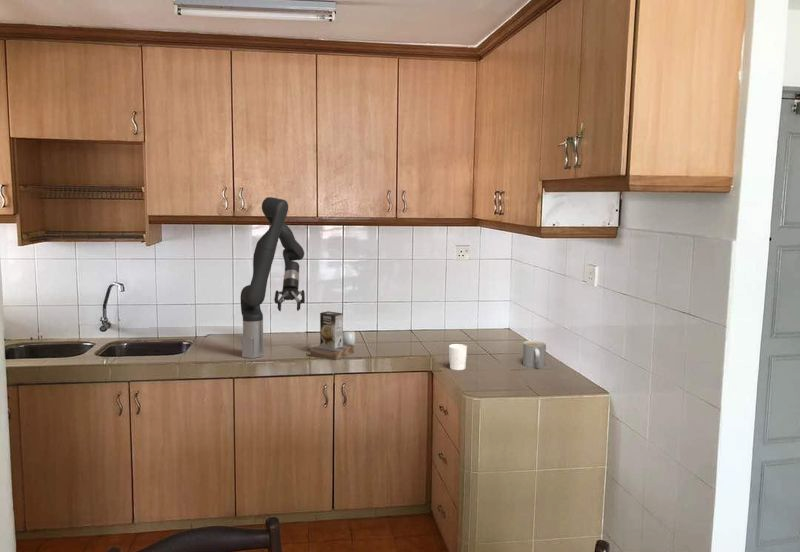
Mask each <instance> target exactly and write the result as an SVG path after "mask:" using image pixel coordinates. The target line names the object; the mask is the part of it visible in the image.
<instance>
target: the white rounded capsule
mask: <svg viewBox="0 0 800 552" xmlns="http://www.w3.org/2000/svg"><path fill="white" fill-rule="evenodd" d="M342 343H344V344H351V345H354V350H355V349H356V331H353V330H343V340H342Z"/></svg>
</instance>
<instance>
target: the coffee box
mask: <svg viewBox="0 0 800 552" xmlns="http://www.w3.org/2000/svg"><path fill="white" fill-rule="evenodd" d="M343 313H344V312H336V311H335V312H334V311H329V310H328V311H323V312H319V318H320V319H319V320H320V322H319V324H320V325H319V326H320V327H319V335H320V336H319V339H320V341H319V343H320V344H319V345H320V346H323V347H329V348H338V347H341V346H343V345H342V343H343V332H344V330H343V329H344V328H343V322H344V319H343V318H344V315H343Z"/></svg>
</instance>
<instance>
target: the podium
mask: <svg viewBox="0 0 800 552" xmlns="http://www.w3.org/2000/svg"><path fill="white" fill-rule="evenodd" d="M342 345H343V346H341V347H338V348H329V347H323V346H320V344H319V345H316V346H314V347H312V348H310V357H313V358H318V357H319V359H324V358H326V360H332V361H337V360H339V358H340V359H342V358H344V356H345V357H347V356H349V355H352V354H354V353H355V349H354V345H351V344H344V343H343V342H342ZM346 355H347V356H346ZM341 357H342V358H341Z"/></svg>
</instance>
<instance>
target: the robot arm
mask: <svg viewBox="0 0 800 552" xmlns="http://www.w3.org/2000/svg"><path fill="white" fill-rule="evenodd" d="M261 211H262V213H263V215H264V216H265V218H266V219H267V221H268V223H269V224H270V226H269V228H268V230H267V231H266V232H265V233H264V234H263V235H262V236H261V237H260V238H259V239H258V241H257V242H256V246H255V249H254V253H253V258H252V267H253V269H252V271H253V272H252V277H251V281H250V283H249V284H248V285H245V286H244V287H242V289H241V292H240V296H239V297H240V311H241V316H242V337H241V356H242V358H246V359H247V358H248V359H256V358H261V357H263V356H264V353H265V351H264V315H263V312H262V309H261V305H262V304H263V302H264V301H265V298H266V291H267V285H268V279H269V276H270V272H271V269H272V266H273V261H274V259H275V255H276V251H277V246H278V243H279V241H280V244H281V246H282V247H283V248H284V249H283V250H282V257H283V262H284V273H283V280H282V290H281V291H279V290H275V294H274V300H273V301H274V303H275V304H277V310H278V311H279V312H281V311H282V304H283V303H284V302H285V301H295V302H296V310H297V312H299V311H300V310H301V305H302V304H304V303H305V302H306V301H305V300H306V299H305V298H306V297H305V296H306V295H305V294H306V293H305V290H300V291H299V284H300V264H299V263H298V261H301V260H303V258H304V257H305V251H304V248H303V247H302V245H300V243H299V242H298V241H297V240H296V238H295V236H294V233H293V231H292V229H291V228H290V227H289V226H288V225H287V224H286V223H285V221H286V218H287V215H288V212H289V203H288V201H287V200H285V199H282V198H277V197H272V196H268V197H265V198H264V199H263V201H262V203H261ZM299 295H300V296H301V299H300V298H299V297H298V296H299Z"/></svg>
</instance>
